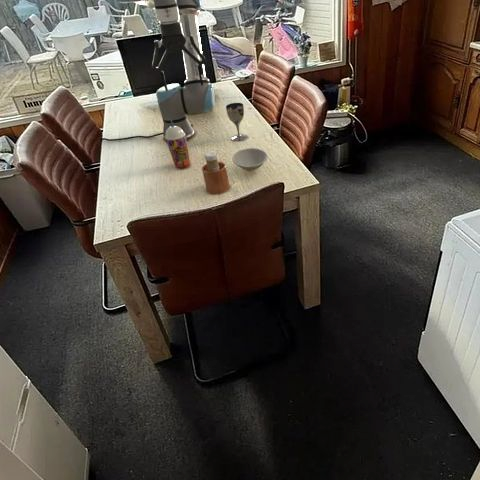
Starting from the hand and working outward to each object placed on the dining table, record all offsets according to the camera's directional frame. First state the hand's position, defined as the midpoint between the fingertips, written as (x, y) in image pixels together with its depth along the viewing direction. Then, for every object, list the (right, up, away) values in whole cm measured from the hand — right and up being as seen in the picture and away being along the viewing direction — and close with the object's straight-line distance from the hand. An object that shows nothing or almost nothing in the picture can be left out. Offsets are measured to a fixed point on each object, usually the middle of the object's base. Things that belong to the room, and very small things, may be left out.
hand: (184, 87), depth 148 cm
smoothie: (-5, -25, +19) cm, 32 cm away
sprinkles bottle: (+12, -38, +1) cm, 40 cm away
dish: (+25, -28, +12) cm, 39 cm away
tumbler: (+13, -39, +1) cm, 41 cm away
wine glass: (+18, -6, +37) cm, 42 cm away
